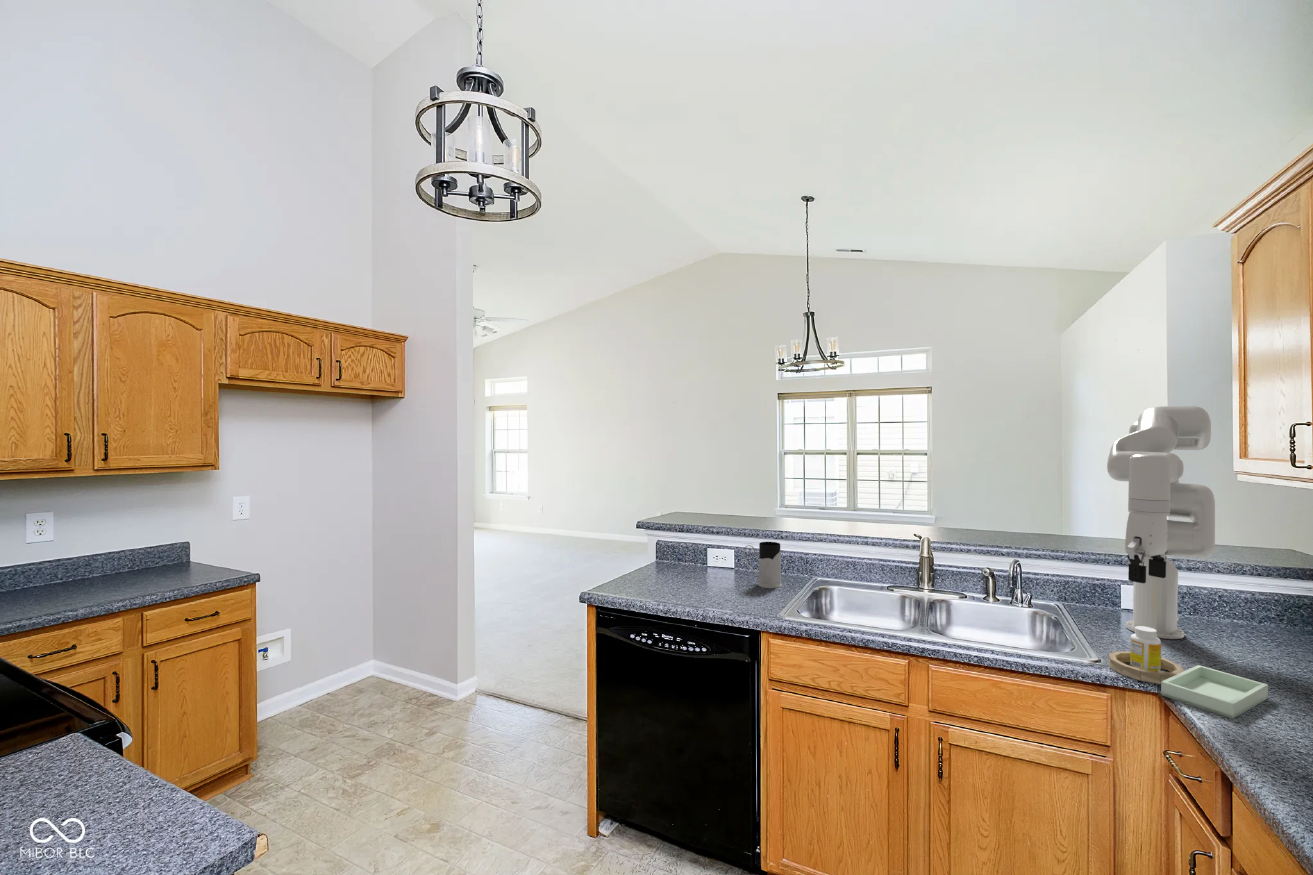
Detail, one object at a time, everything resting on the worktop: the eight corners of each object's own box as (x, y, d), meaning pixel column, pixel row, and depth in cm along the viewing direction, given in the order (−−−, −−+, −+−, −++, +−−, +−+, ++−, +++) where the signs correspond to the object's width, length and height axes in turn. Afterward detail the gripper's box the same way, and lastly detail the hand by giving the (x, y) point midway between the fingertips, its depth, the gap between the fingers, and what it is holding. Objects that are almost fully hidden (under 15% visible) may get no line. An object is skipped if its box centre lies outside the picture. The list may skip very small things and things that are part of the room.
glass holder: (778, 589, 209) (778, 547, 208) (739, 584, 215) (739, 543, 215) (784, 583, 217) (784, 542, 216) (747, 578, 223) (747, 539, 222)
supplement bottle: (1161, 671, 140) (1162, 628, 140) (1159, 678, 136) (1160, 634, 136) (1131, 664, 144) (1131, 623, 143) (1128, 671, 140) (1129, 628, 139)
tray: (1197, 677, 136) (1198, 664, 136) (1267, 698, 126) (1268, 684, 126) (1161, 695, 128) (1161, 681, 128) (1232, 718, 118) (1233, 703, 117)
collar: (1125, 656, 149) (1126, 647, 149) (1193, 676, 137) (1194, 666, 137) (1098, 666, 142) (1098, 657, 142) (1166, 688, 131) (1167, 679, 131)
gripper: (1147, 502, 146) (1145, 571, 147) (1111, 507, 138) (1110, 580, 138) (1185, 506, 140) (1183, 578, 140) (1150, 511, 131) (1148, 588, 132)
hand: (1147, 579), depth 139 cm, fingers open, 9 cm apart
